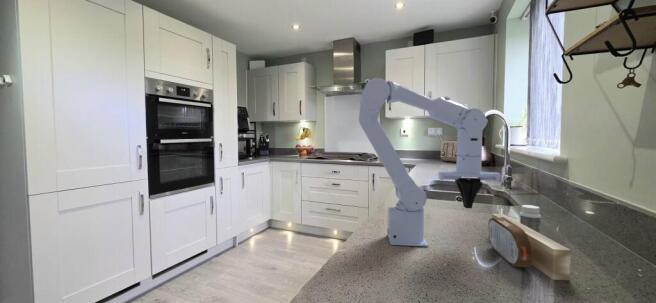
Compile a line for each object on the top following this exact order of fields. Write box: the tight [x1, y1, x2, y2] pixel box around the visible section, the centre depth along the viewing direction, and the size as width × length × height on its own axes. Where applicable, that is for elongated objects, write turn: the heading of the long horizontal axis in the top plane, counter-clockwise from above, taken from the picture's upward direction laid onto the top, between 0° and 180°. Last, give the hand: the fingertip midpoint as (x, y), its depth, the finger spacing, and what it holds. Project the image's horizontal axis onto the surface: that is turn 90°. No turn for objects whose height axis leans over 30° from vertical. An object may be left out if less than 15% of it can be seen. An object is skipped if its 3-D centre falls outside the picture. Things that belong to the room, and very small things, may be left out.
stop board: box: [491, 213, 572, 281], centre depth 63 cm, size 3×24×6 cm, turn 173°
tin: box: [487, 217, 533, 269], centre depth 61 cm, size 15×3×8 cm, turn 170°
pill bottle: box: [519, 204, 542, 234], centre depth 74 cm, size 5×5×8 cm
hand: (467, 207), depth 69 cm, fingers closed
